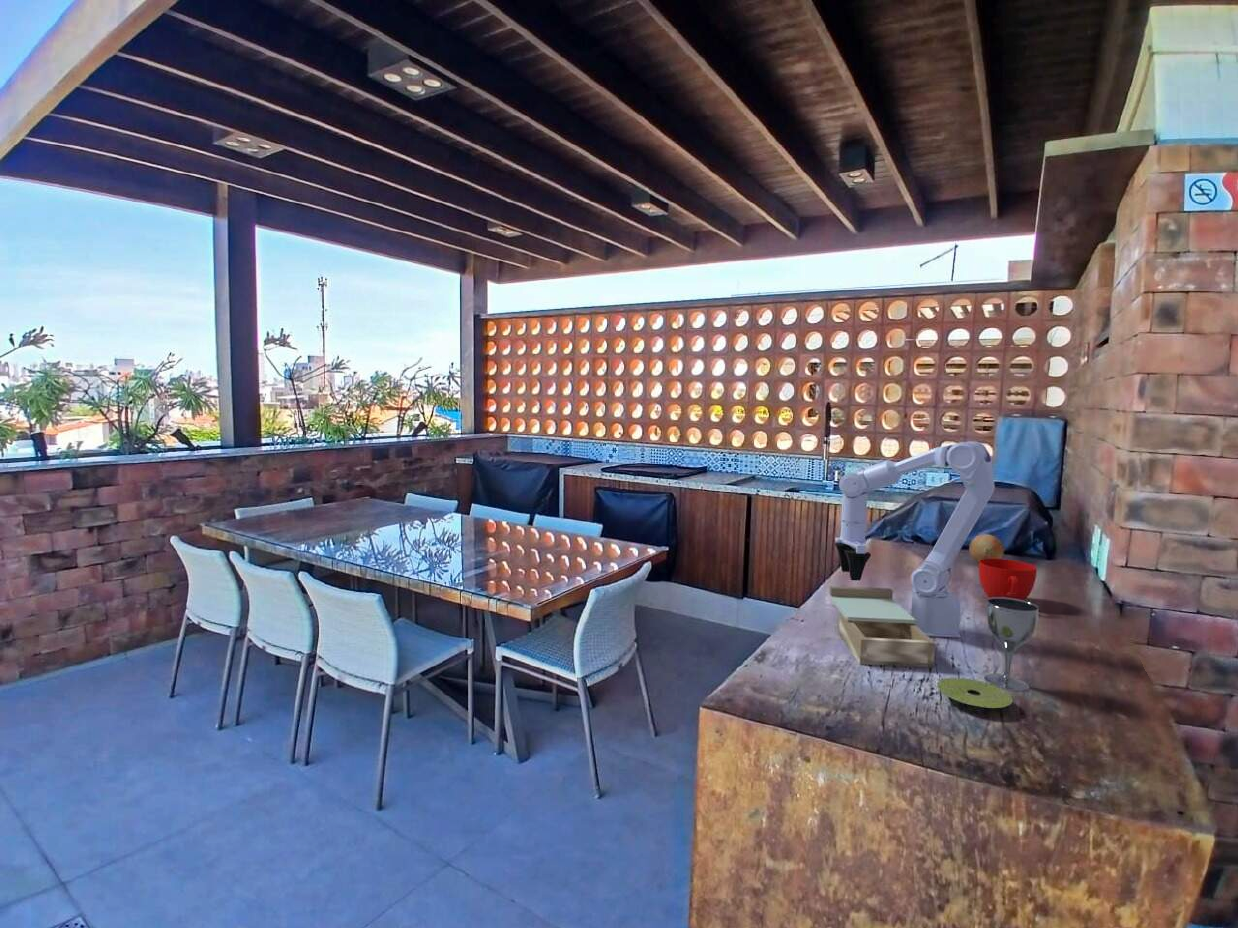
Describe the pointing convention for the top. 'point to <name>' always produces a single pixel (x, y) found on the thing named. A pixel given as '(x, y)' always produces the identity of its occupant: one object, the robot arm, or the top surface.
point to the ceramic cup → (1006, 578)
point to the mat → (974, 692)
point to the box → (887, 643)
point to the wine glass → (1010, 634)
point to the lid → (868, 605)
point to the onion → (986, 547)
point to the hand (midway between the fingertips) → (850, 575)
